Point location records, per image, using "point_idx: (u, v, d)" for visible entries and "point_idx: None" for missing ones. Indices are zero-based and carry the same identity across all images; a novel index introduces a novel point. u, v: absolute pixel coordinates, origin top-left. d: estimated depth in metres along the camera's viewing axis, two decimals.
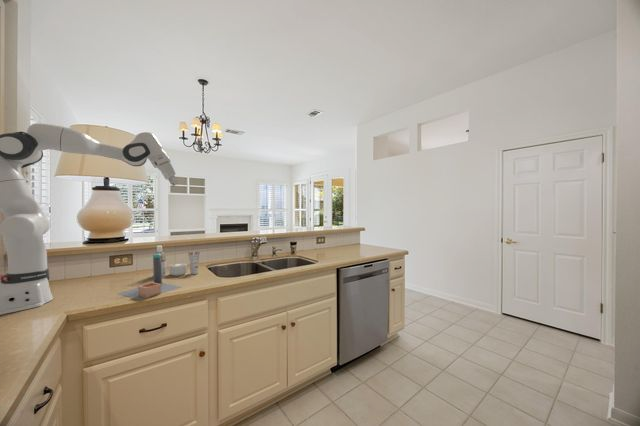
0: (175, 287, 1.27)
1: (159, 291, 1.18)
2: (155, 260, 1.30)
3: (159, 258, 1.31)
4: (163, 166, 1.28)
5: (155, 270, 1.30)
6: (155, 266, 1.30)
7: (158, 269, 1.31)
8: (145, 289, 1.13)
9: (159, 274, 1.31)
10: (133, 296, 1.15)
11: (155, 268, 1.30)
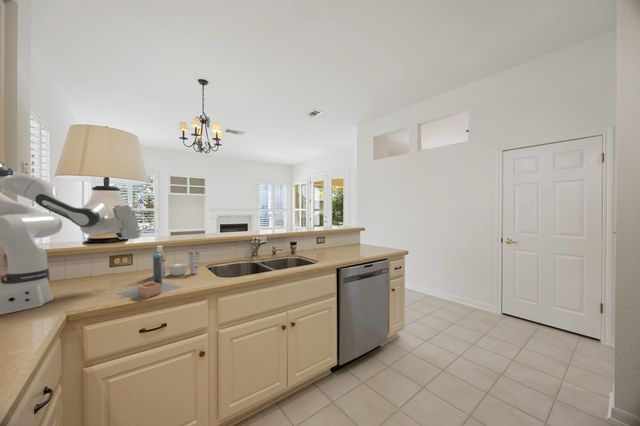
0: (175, 287, 1.27)
1: (159, 291, 1.18)
2: (155, 260, 1.30)
3: (159, 258, 1.31)
4: None
5: (155, 270, 1.30)
6: (155, 266, 1.30)
7: (158, 269, 1.31)
8: (145, 289, 1.13)
9: (159, 274, 1.31)
10: (133, 296, 1.15)
11: (155, 268, 1.30)
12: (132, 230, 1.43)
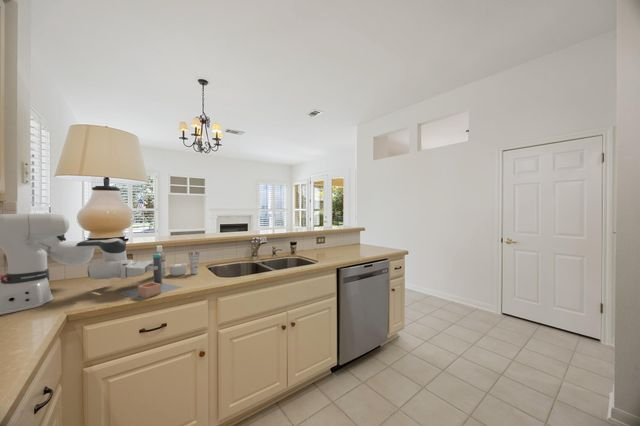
0: (175, 287, 1.27)
1: (159, 291, 1.18)
2: (155, 260, 1.30)
3: (159, 258, 1.31)
4: (129, 275, 1.20)
5: (155, 270, 1.30)
6: None
7: (158, 269, 1.31)
8: (145, 289, 1.13)
9: (159, 274, 1.31)
10: (133, 296, 1.15)
11: None
12: (141, 266, 1.26)
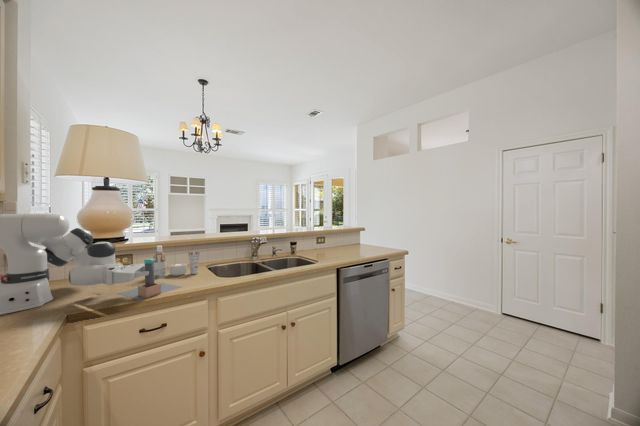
0: (175, 287, 1.27)
1: (159, 291, 1.18)
2: (147, 266, 1.15)
3: (151, 264, 1.16)
4: (116, 281, 1.05)
5: (147, 277, 1.15)
6: None
7: (150, 276, 1.16)
8: (145, 289, 1.13)
9: (151, 282, 1.16)
10: (133, 296, 1.15)
11: (147, 275, 1.15)
12: (130, 270, 1.10)
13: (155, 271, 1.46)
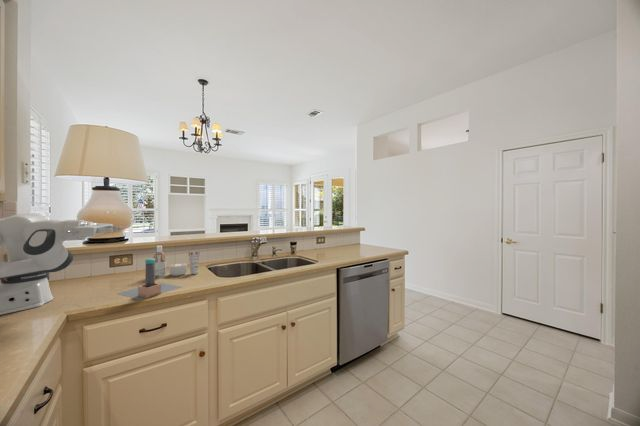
0: (175, 287, 1.27)
1: (159, 291, 1.18)
2: (148, 266, 1.15)
3: (152, 264, 1.16)
4: None
5: (147, 277, 1.15)
6: (148, 273, 1.15)
7: (151, 276, 1.16)
8: (145, 289, 1.13)
9: (152, 282, 1.16)
10: (133, 296, 1.15)
11: (147, 275, 1.15)
12: None
13: (155, 271, 1.45)
